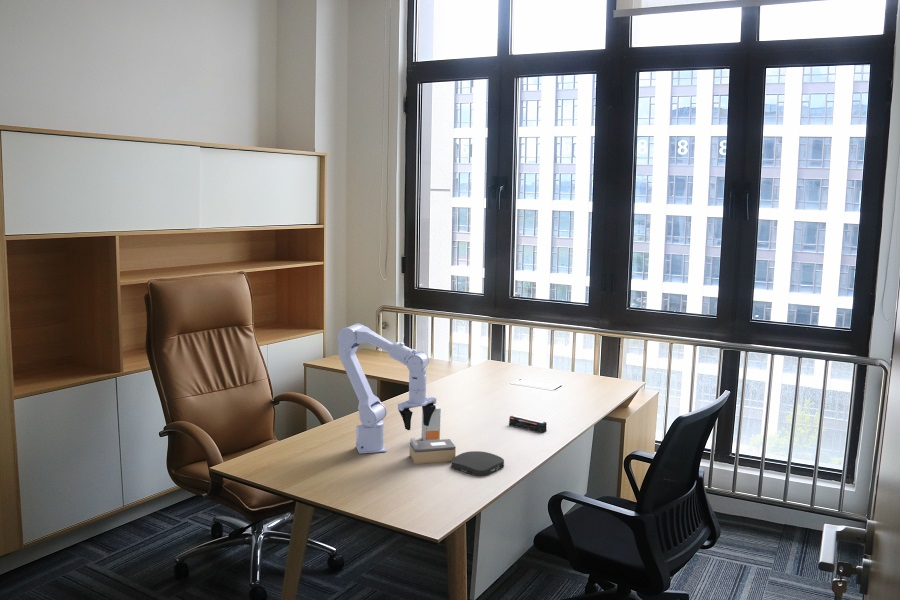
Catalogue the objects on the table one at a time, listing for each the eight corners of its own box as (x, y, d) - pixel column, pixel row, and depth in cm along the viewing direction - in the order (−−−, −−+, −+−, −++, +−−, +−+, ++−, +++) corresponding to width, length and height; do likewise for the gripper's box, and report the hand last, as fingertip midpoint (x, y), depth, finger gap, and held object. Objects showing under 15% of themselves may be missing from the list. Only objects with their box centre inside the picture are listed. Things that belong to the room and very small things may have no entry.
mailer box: (414, 464, 255) (414, 452, 254) (409, 455, 262) (409, 444, 262) (455, 460, 258) (455, 449, 258) (449, 452, 266) (449, 441, 265)
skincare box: (424, 441, 277) (424, 409, 275) (421, 437, 281) (421, 406, 279) (440, 440, 278) (440, 408, 277) (437, 436, 282) (437, 404, 281)
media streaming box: (473, 455, 264) (473, 447, 264) (508, 466, 255) (508, 457, 255) (446, 467, 253) (446, 459, 253) (482, 479, 244) (482, 470, 244)
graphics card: (542, 439, 283) (543, 428, 282) (486, 425, 298) (486, 415, 297) (562, 429, 295) (562, 419, 294) (507, 417, 309) (507, 406, 309)
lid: (414, 451, 254) (414, 445, 254) (409, 443, 262) (409, 437, 262) (455, 448, 258) (455, 442, 257) (449, 440, 265) (449, 435, 265)
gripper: (406, 394, 252) (405, 434, 254) (441, 387, 261) (441, 426, 263) (394, 389, 257) (394, 428, 260) (429, 383, 266) (429, 421, 268)
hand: (416, 427), depth 262 cm, fingers open, 7 cm apart
